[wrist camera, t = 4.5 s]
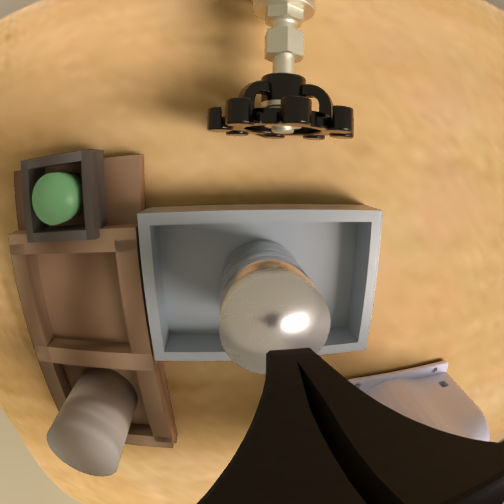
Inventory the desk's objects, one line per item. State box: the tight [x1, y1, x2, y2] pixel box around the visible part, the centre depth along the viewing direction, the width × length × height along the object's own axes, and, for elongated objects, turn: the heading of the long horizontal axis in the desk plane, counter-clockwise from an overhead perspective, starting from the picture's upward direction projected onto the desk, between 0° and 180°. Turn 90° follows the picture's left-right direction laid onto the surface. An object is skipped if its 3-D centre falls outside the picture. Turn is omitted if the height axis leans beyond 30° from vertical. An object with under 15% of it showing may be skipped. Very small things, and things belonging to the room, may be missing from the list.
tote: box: [137, 204, 383, 361], centre depth 17 cm, size 12×8×2 cm
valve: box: [207, 0, 354, 140], centre depth 12 cm, size 7×7×12 cm
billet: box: [219, 240, 331, 375], centre depth 15 cm, size 4×4×6 cm
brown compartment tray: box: [8, 149, 177, 476], centre depth 15 cm, size 8×20×7 cm, turn 0°
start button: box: [32, 171, 84, 225], centre depth 14 cm, size 3×3×2 cm
